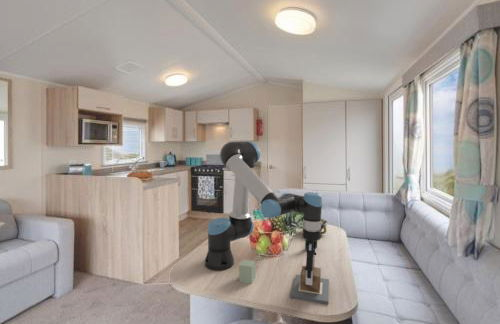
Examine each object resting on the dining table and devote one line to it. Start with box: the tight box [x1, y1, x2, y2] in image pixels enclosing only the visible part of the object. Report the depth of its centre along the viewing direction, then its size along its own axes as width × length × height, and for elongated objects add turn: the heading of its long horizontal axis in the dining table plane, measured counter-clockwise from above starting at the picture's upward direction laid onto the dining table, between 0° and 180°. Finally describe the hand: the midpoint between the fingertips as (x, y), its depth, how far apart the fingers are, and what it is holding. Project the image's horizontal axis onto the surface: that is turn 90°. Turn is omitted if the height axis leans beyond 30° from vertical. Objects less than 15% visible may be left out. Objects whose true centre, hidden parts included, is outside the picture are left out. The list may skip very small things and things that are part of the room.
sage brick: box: [238, 258, 256, 285], centre depth 124 cm, size 6×6×8 cm
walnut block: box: [300, 265, 322, 293], centre depth 116 cm, size 8×8×7 cm
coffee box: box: [304, 239, 318, 250], centre depth 161 cm, size 8×3×13 cm, turn 123°
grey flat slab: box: [290, 274, 330, 305], centre depth 116 cm, size 15×18×1 cm
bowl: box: [320, 218, 328, 235], centre depth 187 cm, size 18×18×10 cm
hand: (310, 276), depth 116 cm, fingers open, 13 cm apart
